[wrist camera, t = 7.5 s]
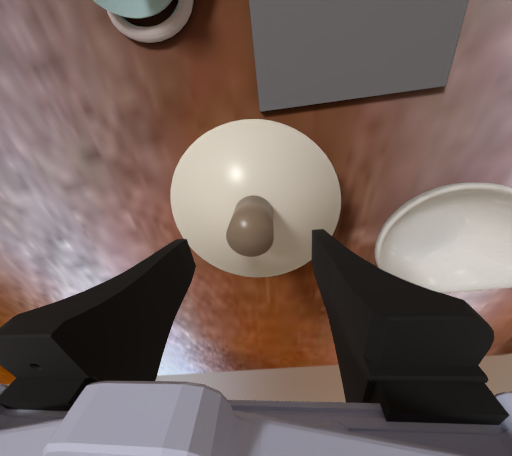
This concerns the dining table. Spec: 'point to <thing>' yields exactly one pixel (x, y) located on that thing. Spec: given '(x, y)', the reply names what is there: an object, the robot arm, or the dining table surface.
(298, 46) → the mat
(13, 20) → the dining table surface
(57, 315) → the robot arm
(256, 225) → the lid
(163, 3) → the pacifier
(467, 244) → the spoon rest
